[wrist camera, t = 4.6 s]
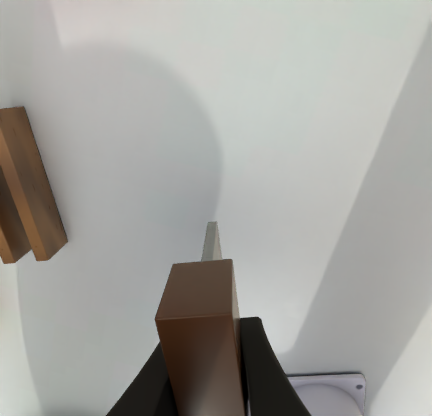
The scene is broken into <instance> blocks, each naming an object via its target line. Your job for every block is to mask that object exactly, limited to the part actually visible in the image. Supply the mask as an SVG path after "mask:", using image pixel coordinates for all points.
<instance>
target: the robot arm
mask: <svg viewBox="0 0 432 416" xmlns="http://www.w3.org/2000/svg"><path fill="white" fill-rule="evenodd" d="M240 337H241V345H242V352H243V360H244V368H245V376H246V384H247V392H248V400H249V407H250V413H251V416H363V413H364V400H365V387H366V380H365V377H364V376H363V375H362V374H342V375H321V376H299V377H287V376H286V374H285V373H284V371H283V369H282V367H281V365H280V363H279V362H278V360H277V358H276V356H275V354H274V352H273V350H272V348H271V345H270V343H269V341H268V339H267V336H266V334H265V331H264V328H263V325H262V320H261V319H260V318H259V317H249V318H240ZM106 416H178V412H177V408H176V404H175V400H174V396H173V392H172V387H171V383H170V379H169V375H168V371H167V367H166V363H165V359H164V355H163V351H162V347H161V343H160V342H159V344H158V345H157V347H156V348H155V350H154V352H153V353H152V355H151V356H150V358H149V359H148V361H147V362H146V363H145V365H144V366H143V368H142V369H141V371H140V372H139V374H138V375H137V376H136V378H135V379H134V380H133V382H132V383H131V384H130V386H129V387H128V388H127V390H126V391H125V392H124V394H123V395H122V396H121V398H120V399H119V400H118V401H117V403H116V404H115V405H114V406H113V408H112V409H111V410H110V411H109V412H108V414H107V415H106Z"/></svg>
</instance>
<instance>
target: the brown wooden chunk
mask: <svg viewBox="0 0 432 416" xmlns="http://www.w3.org/2000/svg"><path fill="white" fill-rule="evenodd" d="M155 322H156V327H157V331H158V335H159V339H160V343H161V347H162V351H163V355H164V359H165V363H166V367H167V371H168V375H169V379H170V383H171V387H172V392H173V396H174V400H175V404H176V408H177V412H178V416H251V413H250V407H249V400H248V392H247V384H246V376H245V368H244V360H243V352H242V345H241V337H240V317H239V308H238V300H237V292H236V284H235V276H234V268H233V260H232V259H224V260H222V254H221V247H220V239H219V232H218V225H217V222H208V225H207V231H206V236H205V242H204V247H203V253H202V259H201V262H189V263H177V264H173V265H172V268H171V271H170V274H169V277H168V280H167V283H166V286H165V289H164V292H163V295H162V298H161V301H160V304H159V307H158V310H157V313H156V316H155Z"/></svg>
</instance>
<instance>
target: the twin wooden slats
mask: <svg viewBox="0 0 432 416" xmlns="http://www.w3.org/2000/svg"><path fill="white" fill-rule="evenodd" d="M67 242H68V241H67V238H66V235H65V232H64V228H63V225H62V222H61V219H60V216H59V213H58V210H57V207H56V204H55V201H54V198H53V195H52V192H51V189H50V186H49V183H48V180H47V176H46V173H45V170H44V167H43V164H42V161H41V158H40V155H39V152H38V149H37V146H36V143H35V140H34V137H33V134H32V131H31V128H30V124H29V121H28V118H27V115H26V112H25V109H24V107H23V106H22V107H13V108H3V109H0V256H1V258H2V261H3V263H4V264H8V263H16V262H17V261H18V260H19V259H20V258H22V257H23V256H24V255H25V254H26V253H28V252H29V251H30V250H31V249H32V250H33V253H34V255H35V258H36V261H46V260H49V259H50V258H51V257H52V256H53V255H54V254H55V253H57V252H58V251H59V250H60V249H61V248H62V247H63V246H64V245H65V244H66V243H67Z"/></svg>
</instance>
